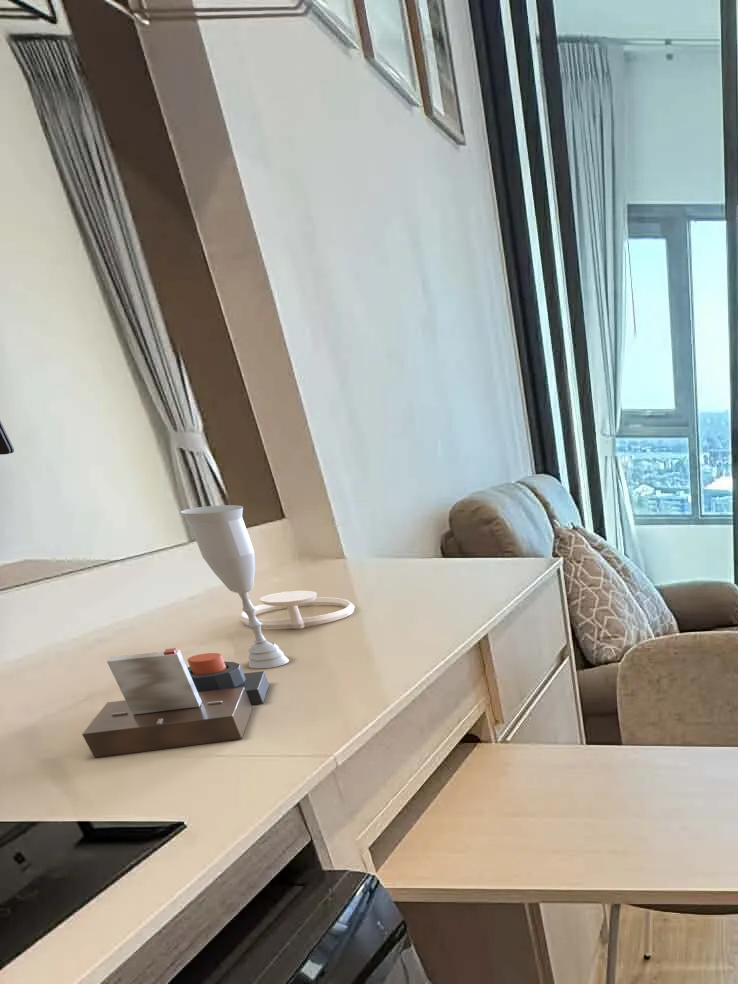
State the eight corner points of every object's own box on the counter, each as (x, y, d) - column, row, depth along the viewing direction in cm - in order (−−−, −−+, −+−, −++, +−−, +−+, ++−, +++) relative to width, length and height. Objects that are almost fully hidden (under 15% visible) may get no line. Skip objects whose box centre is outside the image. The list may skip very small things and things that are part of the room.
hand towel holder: (346, 572, 141) (349, 596, 126) (354, 600, 144) (358, 627, 129) (234, 581, 136) (223, 607, 121) (245, 611, 139) (236, 640, 124)
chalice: (281, 670, 112) (224, 513, 100) (230, 671, 112) (168, 514, 100) (305, 655, 117) (253, 504, 106) (256, 655, 117) (200, 505, 106)
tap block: (94, 758, 88) (80, 732, 86) (118, 724, 96) (106, 700, 94) (241, 739, 91) (231, 714, 90) (252, 708, 99) (243, 685, 98)
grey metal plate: (132, 714, 90) (105, 658, 87) (135, 709, 92) (109, 654, 88) (199, 706, 92) (175, 651, 88) (202, 702, 93) (178, 647, 90)
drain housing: (169, 714, 98) (155, 683, 96) (181, 694, 104) (168, 665, 102) (263, 703, 101) (251, 673, 99) (269, 684, 107) (258, 655, 104)
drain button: (191, 678, 99) (184, 662, 98) (196, 670, 101) (189, 654, 100) (225, 674, 100) (219, 659, 98) (229, 666, 102) (223, 651, 101)
